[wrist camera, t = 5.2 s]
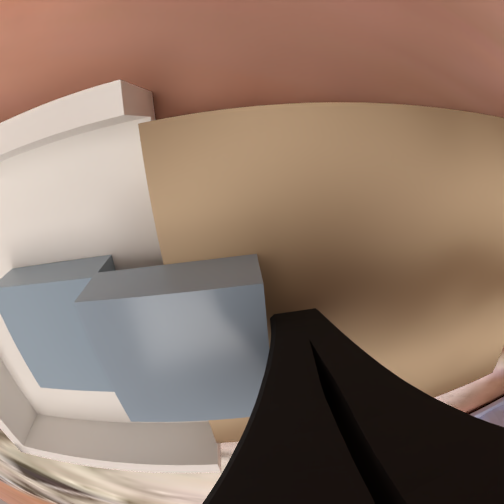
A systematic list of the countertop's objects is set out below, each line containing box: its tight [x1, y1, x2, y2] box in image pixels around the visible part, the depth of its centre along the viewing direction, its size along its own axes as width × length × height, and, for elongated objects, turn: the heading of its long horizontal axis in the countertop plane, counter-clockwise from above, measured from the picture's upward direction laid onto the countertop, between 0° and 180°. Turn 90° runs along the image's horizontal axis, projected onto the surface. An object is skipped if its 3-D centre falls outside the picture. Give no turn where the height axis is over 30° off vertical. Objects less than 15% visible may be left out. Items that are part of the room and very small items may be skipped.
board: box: [138, 102, 504, 443], centre depth 10 cm, size 12×14×2 cm
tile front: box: [74, 254, 269, 422], centre depth 8 cm, size 4×4×2 cm
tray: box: [0, 80, 221, 473], centre depth 9 cm, size 14×11×3 cm
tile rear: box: [0, 255, 116, 392], centre depth 9 cm, size 4×4×2 cm
